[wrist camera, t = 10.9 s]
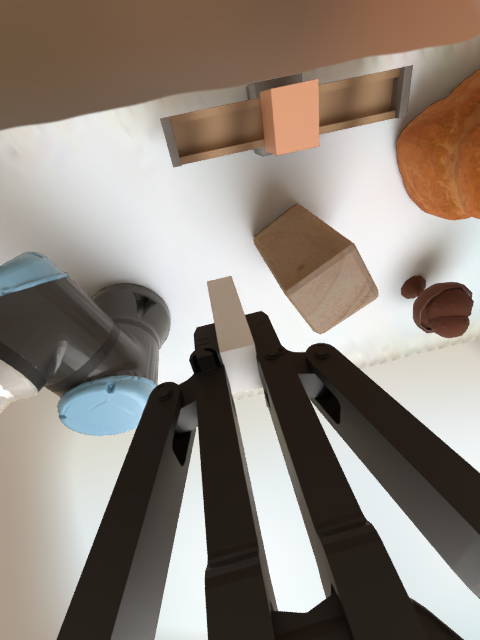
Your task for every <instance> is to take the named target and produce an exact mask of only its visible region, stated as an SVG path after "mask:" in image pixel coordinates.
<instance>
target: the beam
mask: <svg viewBox="0 0 480 640" xmlns="http://www.w3.org/2000/svg"><path fill="white" fill-rule="evenodd" d="M412 69H413V65H412V66H407V67H402V68H398V69H393V70H388V71H383V72H379V73H374V74H369V75H364V76H360V77H355V78H350V79H346V80H341V81H336V82H331V83H327V84H322V85H319V135H320V134H324V133H329V132H333V131H338V130H343V129H347V128H352V127H356V126H361V125H365V124H370V123H374V122H379V121H384V120H388V119H393V118H401V117H406V115H407V107H408V100H409V92H410V84H411V76H412ZM297 83H302V73H301V74H297V75H292V76H287V77H282V78H278V79H273V80H268V81H263V82H258V83H254V84H252V85H249V86H247V95H248V100H246V101H242V102H237V103H232V104H227V105H223V106H218V107H213V108H208V109H204V110H199V111H194V112H190V113H185V114H180V115H175V116H171V117H166V118H161V119H160V120H161V124H162V127H163V131H164V135H165V138H166V142H167V146H168V149H169V153H170V157H171V160H172V164H173V167H178V166H181V165H183V164H187V163H192V162H197V161H201V160H206V159H210V158H215V157H219V156H224V155H229V154H233V153H238V152H242V151H247V150H251V149H254V151H255V153H256V154H258V155H260V156H262V157H263V156H267V155H272V154H271V153H269V152H266V149H265V139H264V130H263V120H262V111H261V101H260V92H262V91H265V90H269V89H273V88H278V87H283V86H287V85H292V84H297Z"/></svg>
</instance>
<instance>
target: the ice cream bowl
mask: <svg viewBox="0 0 480 640" xmlns="http://www.w3.org/2000/svg"><path fill="white" fill-rule="evenodd" d="M425 287H426V281H425V279H424V278H422V277H421V276H414V277H412V278H410V279H409V280H407V281H406V282H405V283H404V285H403V287H402V288H401V295H402V296H403V297H405V298H407V299H410V298H415V297H417V296H418V297H417V299H416V300H415V302H414V305H413V319H414V322H415V323H416V325H417V326H418V327H419V328H420V329H422V330H423V331H425V332H426V333H432V332H435V333H436V334H438V335H440V336H442V337H445V338H453V337H458V336H461V335H463V333H464V332H466V330H467V329H468V326H469V318H468V316H470V315H471V310H472V307H473V302H474V301H473V300H472V292H471V291H470V290H469V289H468V288H467V287H466V286H465V285H463V284H460V283H457V282H446V283H437V284H434V285H431V286H430V287H428V288H427V289H425ZM424 289H425V290H424Z"/></svg>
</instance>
